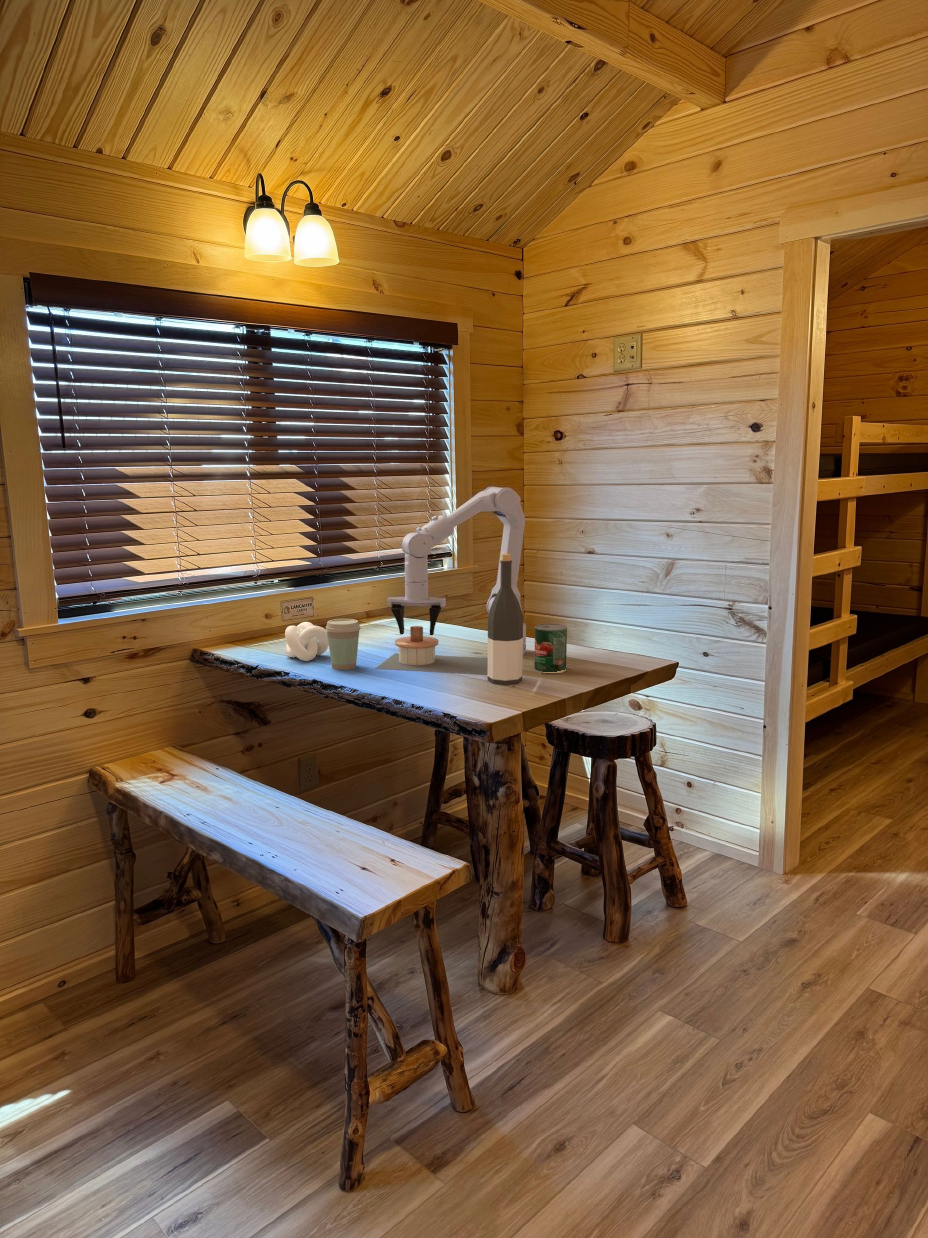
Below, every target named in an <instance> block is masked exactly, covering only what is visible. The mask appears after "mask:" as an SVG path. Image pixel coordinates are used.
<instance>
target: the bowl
mask: <svg viewBox="0 0 928 1238" xmlns="http://www.w3.org/2000/svg"><path fill="white" fill-rule="evenodd" d="M398 653H399V662H400V663H402V664H406V665H427V664H431V663H433V662H435V655H436V646H434V647H430V648H421V649H410V648H402V647H398Z"/></svg>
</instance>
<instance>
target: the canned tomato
mask: <svg viewBox="0 0 928 1238" xmlns="http://www.w3.org/2000/svg"><path fill="white" fill-rule="evenodd" d="M567 637H568V626H567V625H565V624H559V623H552V622H551V623H548V622H547V623H539V624H536V625H534V670H536V671H538V672H541V673H542V672H557V671H561V670H565V669H566V670H567V649H568V648H567V647H568V645H567V644H568V638H567Z"/></svg>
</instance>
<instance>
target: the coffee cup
mask: <svg viewBox="0 0 928 1238" xmlns="http://www.w3.org/2000/svg"><path fill="white" fill-rule="evenodd" d="M324 629H325V630H326V631H327V636H328V643H329V646H328V648H329V650H328V651H329V656H330V663H331V668H332V669H333V670H337V671H348V670H353V669H355V668H357V659H358V649H359V648H358V647H359V638H360V630H361V625H360V623H359V621H358V620H357V619H353V618H335V619H330V620H328V621H327V622H326V626H325V628H324Z"/></svg>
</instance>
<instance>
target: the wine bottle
mask: <svg viewBox="0 0 928 1238" xmlns="http://www.w3.org/2000/svg"><path fill="white" fill-rule="evenodd" d="M500 563H501V587H500V589H499V591H498V593H497V595H496V597H495V599H494V600H493V603H492V605H491V608H490V611H489V613H488V617H487V653H488V655H487V658H488V674H487V682H489V683H491V684H493V685H500V686H509V685H510V686H511V685H518V684H520V682H521V683H522V681H523V657H524V655H523V623H524V617H523V610H522V611H521V607H520V604H519V602H518V600H517V598H516V596H515V594H514V592H513V590H512V588H511V567H512V561H511V554H502V560H501V561H500Z"/></svg>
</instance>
